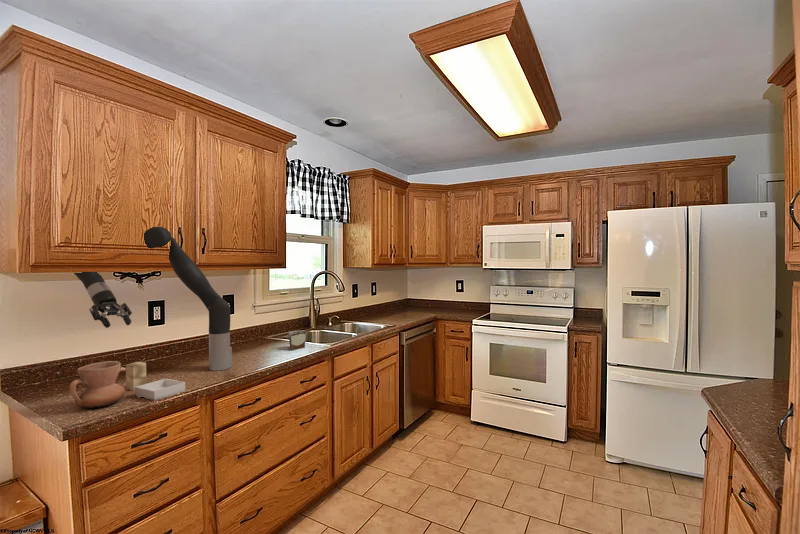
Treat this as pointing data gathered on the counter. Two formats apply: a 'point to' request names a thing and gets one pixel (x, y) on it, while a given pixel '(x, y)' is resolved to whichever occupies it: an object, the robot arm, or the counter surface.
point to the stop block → (135, 375)
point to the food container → (297, 339)
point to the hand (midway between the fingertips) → (119, 325)
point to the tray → (160, 389)
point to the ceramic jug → (98, 385)
